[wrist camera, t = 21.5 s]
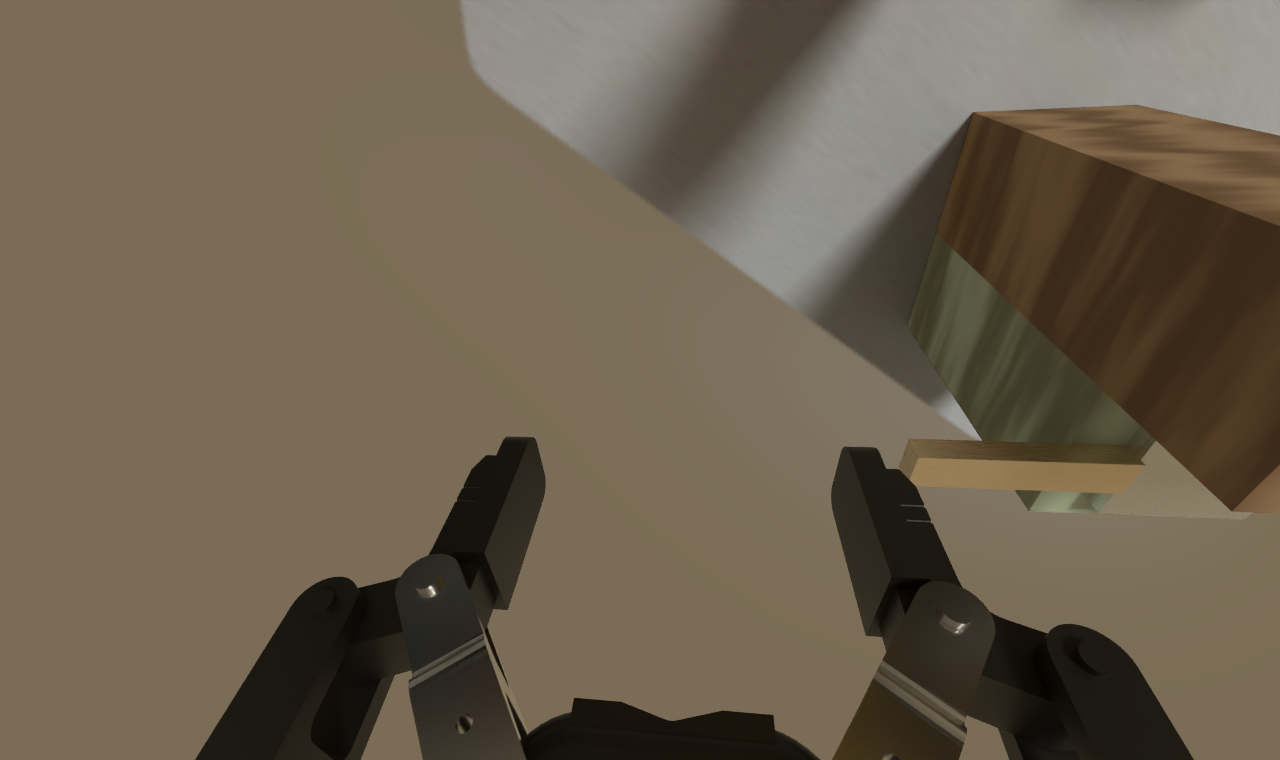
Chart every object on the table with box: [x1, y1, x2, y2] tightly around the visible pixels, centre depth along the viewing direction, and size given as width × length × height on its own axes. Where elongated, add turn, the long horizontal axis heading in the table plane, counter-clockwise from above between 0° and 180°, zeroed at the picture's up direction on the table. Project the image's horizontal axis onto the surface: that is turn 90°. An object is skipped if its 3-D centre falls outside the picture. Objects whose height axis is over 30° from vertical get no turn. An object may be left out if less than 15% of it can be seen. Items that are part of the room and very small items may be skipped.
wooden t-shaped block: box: [899, 426, 1252, 520], centre depth 29 cm, size 20×7×2 cm, turn 93°
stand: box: [907, 105, 1280, 516], centre depth 32 cm, size 12×20×32 cm, turn 3°
